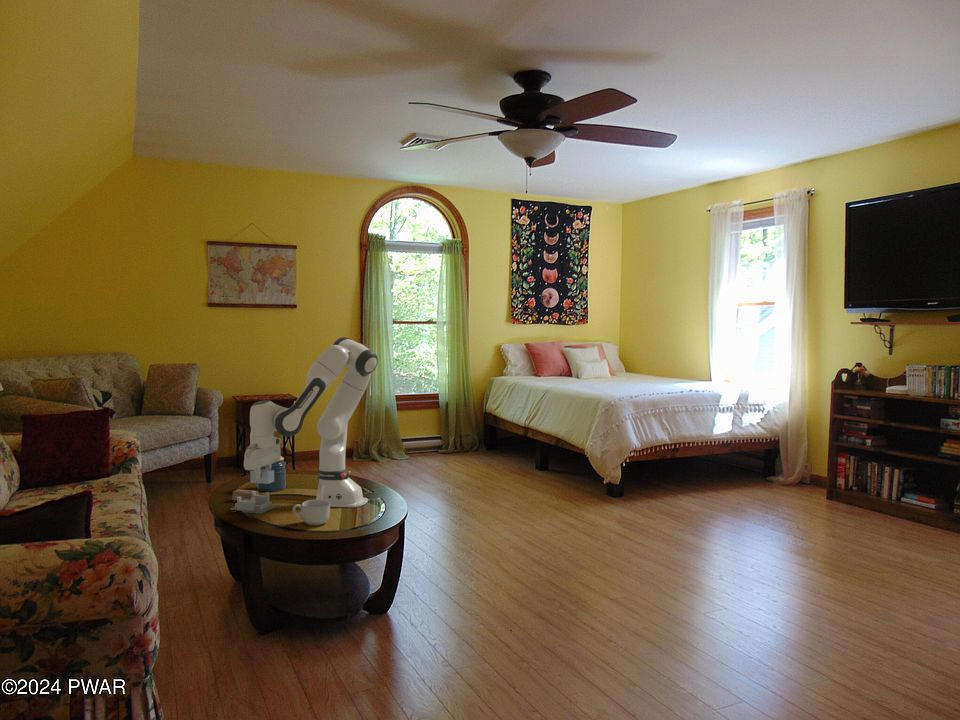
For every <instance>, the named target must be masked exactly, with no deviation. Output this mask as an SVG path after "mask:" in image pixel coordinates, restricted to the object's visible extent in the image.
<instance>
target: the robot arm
mask: <svg viewBox="0 0 960 720" xmlns="http://www.w3.org/2000/svg"><path fill="white" fill-rule="evenodd" d="M378 363H379V362H378V356H377V354H376V353H375V352H374V351H373V350H372V349H369V348H368V347H367V346H365V345H364V344H362V343H359V342H357V341H355V340H353V339H352V338H349V337H345V336H342V337H339V338H337V339H336V340H335V341H334V342H333V343H332V345H330V346H329V347H327V349H325V350H324V351H323V352H322V353H321V354H320V355H319V356H318V357H317V358H316V359H315V360H314V362H313V363H312V365H311V366H310V368H309V369H308V371H307V373H306V378H305V379H306V380H305V381H306V382H305V387H304V389H303V390H302V392H301V394H300V395H299V396H298V398H297V399H296V400H295V402H294V403H293V404H292V405H291V406H290V407H288V408H287V407H284V406H281V405H279V404H277V403H274V402H273V401H271V400H269V399H268V400H260V401H256V402H254V403H253V404H252V405H251V407H250V410H249V411H250V412H249V426H250V434H249V439H250V440H249V442H250V444H249V445H248V446H247V448H246V450H245V452H244V457H243V458H244V459H243V468H244V470H245V471H253V470H254V472H255V474H256V479H261V478H262V474H261V473H260V467H263V466H265V467H266V468H265V470H270V469H271V464H272V463H275V462H278V461H279V460H280V456H282V454H281V452H282V451H281V442H282V439H281V438H280V437H276V436H275V435H274V434H275V432H277V433H278V434H279V435H280V436H283V437H286V438H287V437H289V438H290V437H293V436H296V435H298V434H299V433H300V432H301V430H302V428H303V424H304V421H305V418H306V416H307V414H308V413H309V412H310V410H311V409H312V408H313V406H314V405H315V403H316V402H317V401H318V399H319V398H320V397H321V395H323V393H324V392H326V391H327V390H328V389H329V387H330V386H331V385H333V383H334V382H335V381H336V379H337V378H338V377H339V375H340V374H342V372H343V370H344V369H345V368H346V367H347V370H346V371H345V373H344V375H343V377H342V379H341V380H340V382H339V384H338V386H337V388H336V390H335V392H334V394H333V396H332V397H331V399H330V401H329V402H328V404H327V405H326V407H325V409H324V411H323V413H322V414H321V416H320V418H319V420H318V422H317V426H316V429H317V432H318V435H319V436H320V437H321V439H320V446H319V456H318V457H319V459H318V460H319V462H318V463H319V464H318V465H319V469H318V473H317V479H318V488H317V494H316V496H315V497H316V498H315V500H326V501H329V502H330V503H331V504H330V508H331V507H332V508H358V507H361V506H364V505H365V504H367V503H368V501H369V499H368V498H367V497H364V495H363V490H362V487H361V486H360V485H359V484H358V483H356V482H355V481H354V480H353V479H351V478H350V474H351V470H349V471H348V470H347V468H346V449H347V437H348V424H349V422H350V421H349V420H350V419H351V417H352V416H353V414H354V412H355V410H356V409H357V407H358V405H359V403H360V401H361V399H362V397H363V395H364V393H365V391H366V389H367V388H368V385H369V382H370V379H371V377H372V374H373V372H374V371H375V370H376V368H377V366H378Z"/></svg>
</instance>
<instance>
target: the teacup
mask: <svg viewBox="0 0 960 720" xmlns="http://www.w3.org/2000/svg"><path fill="white" fill-rule="evenodd" d="M330 504H331V503H330V502H329V501H326V500H316V499H309V500H308V499H307V500H305V501H303V502H302V503H301V504H300V503H299V504H298V503H297V504H295V505H293V507H292V513H293V514H294V515H295V516H296V517H299V518H300V519H301V520H302V521H303V522H304V523H306V525H309V526H321V525H323V524H325V523H326V522H328V520H329V519H330V515H331V507H330ZM296 508H300V509H299V510H300V512H301V514H300V513H298V512H297V511H296V510H297V509H296Z"/></svg>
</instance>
